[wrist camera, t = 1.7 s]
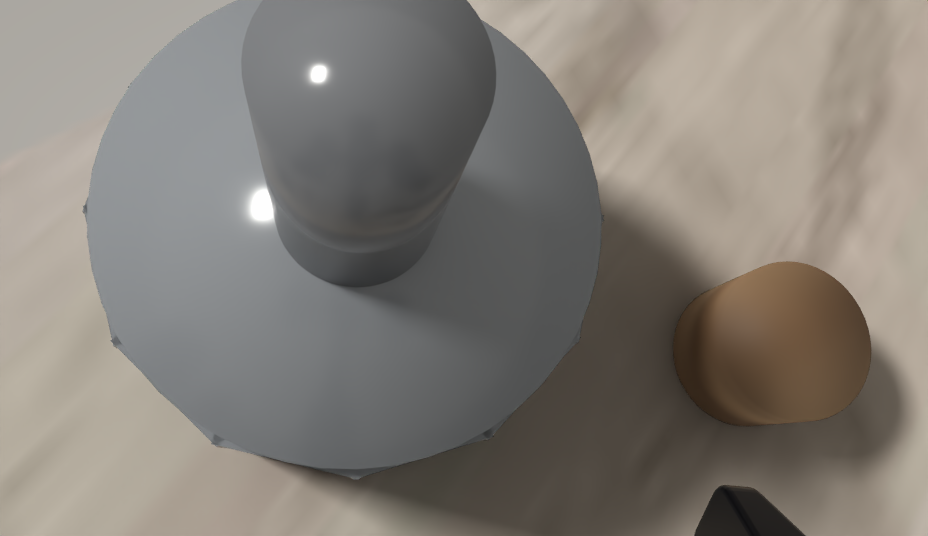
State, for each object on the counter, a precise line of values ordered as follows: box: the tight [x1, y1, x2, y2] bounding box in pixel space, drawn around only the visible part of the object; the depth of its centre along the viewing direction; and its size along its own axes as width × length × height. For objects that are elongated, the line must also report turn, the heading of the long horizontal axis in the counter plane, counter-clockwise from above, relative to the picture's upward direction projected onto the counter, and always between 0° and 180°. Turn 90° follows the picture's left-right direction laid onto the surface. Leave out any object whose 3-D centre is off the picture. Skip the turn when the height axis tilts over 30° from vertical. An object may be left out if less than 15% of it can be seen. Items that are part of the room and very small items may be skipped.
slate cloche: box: [83, 0, 604, 480], centre depth 16 cm, size 10×10×12 cm
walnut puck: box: [673, 262, 871, 426], centre depth 22 cm, size 4×4×3 cm
